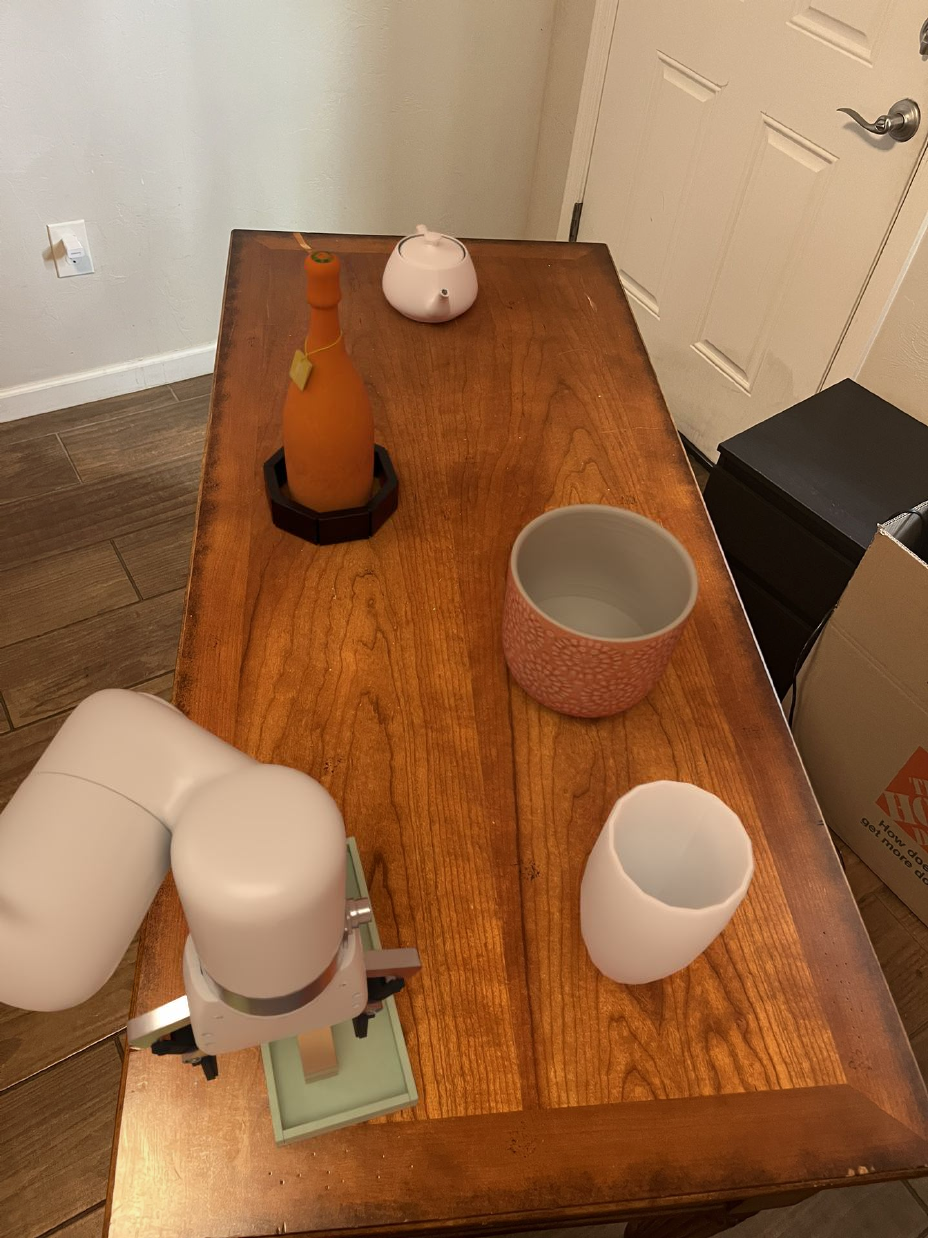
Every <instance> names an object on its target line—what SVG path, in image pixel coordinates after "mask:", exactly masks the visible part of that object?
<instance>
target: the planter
mask: <svg viewBox="0 0 928 1238" xmlns="http://www.w3.org/2000/svg"><path fill="white" fill-rule="evenodd" d="M696 567H697V566H696V565H695V562H694V560H693V558H692V556H691V555H690V553H689V552H688V550H687V549H686V547H685V546H684V544H682V542H681V541H680V540H679V538H677V537H676V536H675V535H674V534H673V533H672V532H671V531H669V530H668V529H666V528H665V526H664V527H663V526H662V525H661V524H659V523H658V522H656V521H654V520H652V519H651V518H649V517H647V516H644V515H643V514H639V513H637V512H635V511H632V510H629V509H626V508H622V507H619V506H614V505H607V504H599V503H579V504H571V505H565V506H561V507H557V508H554V509H552V510H548V511H547V512H544V513H542V514H540V515H539V516H537V517H535V518H534V519H532V520H531V521H530V522H529V523H528V524H527V525H525V527H523V529H522V530H521V531H520V532H519V534H517V537H516V539H515V540H514V542H513V545H512V548H511V552H510V557H509V562H508V570H507V577H506V584H505V594H504V599H503V600H504V601H503V611H502V623H501V624H502V625H501V634H502V635H501V638H502V648H503V655H504V658H505V661H506V664H507V666H508V669H509V671H510V673H511V675H512V677H513V678H514V679H515V681H516V683H517V684H518V685H519V686H520V687H521V689H522V690H524V692H525V693H526V694H527V695H529V697H531V698H532V699H533V700H535V701H536V702H537V703H539V704H540V705H542V706H544V707H545V708H548V709H549V710H552V711H555V712H557V713H560V714H563V715H567V716H571V717H576V718H587V719H588V718H589V719H590V718H591V719H592V718H593V719H594V718H603V717H608V716H612V715H616V714H619V713H621V712H624V711H626V710H629V709H630V708H632V707H633V706H636V705H637V704H639V702H641V701H642V700H643V699H644V698H645V697H647V695H648V694H649V693H650V692H651V691H652V690H653V689H654V687H655V686H656V685H657V683H658V682H659V681H660V679H661V678H662V676H663V675H664V673H665V671H666V669H667V667H668V665H669V663H670V662H671V659H672V657H673V655H674V653H675V651H676V649H677V647H678V645H679V642H680V640H681V638H682V636H683V634H684V631H685V629H686V627H687V625H688V622H689V620H690V618H691V616H692V613H693V611H694V608H695V605H696V603H697V600H698V595H699V589H700V588H699V587H700V581H699V575H698V574H699V573H698V571H697V568H696Z"/></svg>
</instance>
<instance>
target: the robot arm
mask: <svg viewBox="0 0 928 1238" xmlns="http://www.w3.org/2000/svg"><path fill="white" fill-rule="evenodd" d="M346 838H347V833H346V826H345V822H344V818H343V815H342V812H341V811H340V809H339V807H338V805H337V802H336V801H335V799H334V798H333V797H332V795H331V794H330V793H329V791H328V790H327V789H326V788H325V787H324V786H323V785H322V784H321V783H320V782H319V781H317V780H316V779H314V778H313V777H312V776H309V774H307V773H305V772H303V771H300V770H298V769H296V768H294V767H291V766H290V767H289V766H286V765H283V764H276V763H262V762H260V761H259V760H257V759H256V758H253V756H250V755H249V754H247V753H245V752H243V751H242V750H240V749H238V748H237V747H235V746H233V745H231V744H230V743H228V742H226V741H225V740H223V739H222V738H220V737H218V736H217V735H215V734H214V733H213V732H211V731H209V730H208V729H206V728H205V727H202V726H201V725H199V724H198V723H196V722H195V721H194V720H191V719H190V718H188V717H187V716H186V715H185V714H184V713H183V712H182V711H181V710H180V709H179V708H177V707H176V706H175V705H173V704H172V703H170V702H169V701H167V700H165V699H163V698H161V697H160V696H157V695H154V694H152V693H148V692H143V691H133V690H130V689H125V688H106V689H101V690H98V691H96V692H94V693H92V694H90V695H88V696H87V697H86V698H84V699H83V700H82V701H81V702H80V703H79V704H77V706H76V707H75V708H74V709H73V711H72V712H71V713H70V715H69V716H68V717H67V718H66V720H65V721H64V722H63V724H62V726H61V727H60V728H59V730H58V731H57V733H56V735H54V737H53V739H52V740H51V742H50V743H49V744H48V746H47V748H46V749H45V750H44V752H43V753H42V755H41V756H40V758H39V759H38V761H37V762H36V764H35V765H34V766H33V768H32V770H31V771H30V772H29V773H28V775H27V777H25V779H23V781H22V782H21V783H20V785H19V787H18V788H17V789H16V791H15V793H14V794H13V796H12V797H11V799H10V800H9V802H8V803H7V804H6V806H5V808H3V810H2V811H1V813H0V1003H3V1004H5V1005H8V1006H10V1007H11V1006H12V1007H14V1008H18V1009H22V1010H26V1011H34V1012H45V1013H49V1012H50V1013H51V1012H59V1011H65V1010H68V1009H71V1008H74V1007H77V1006H79V1005H81V1004H83V1003H85V1002H86V1001H88V1000H89V999H91V997H93V996H94V995H95V994H96V993H98V992H99V991H100V989H102V987H103V986H104V985H105V984H106V983H107V982H108V981H109V979H110V978H111V977H112V976H113V974H114V973H115V971H116V969H117V968H118V966H119V964H120V963H121V961H122V960H123V958H124V956H125V954H126V952H127V950H128V949H129V947H130V945H131V943H132V941H133V940H134V938H135V936H136V934H137V933H138V930H139V929H140V926H141V925H142V923H143V921H144V919H145V917H146V916H147V913H148V911H149V909H150V907H151V905H152V903H153V902H154V900H155V897H156V896H157V894H158V892H159V890H160V888H161V886H162V884H163V882H164V880H165V878H166V876H167V874H168V873H169V871H170V869H171V873H172V876H173V880H174V883H175V887H176V890H177V894H178V896H179V897H178V898H179V900H180V904H181V908H182V910H183V914H184V917H185V920H186V924H187V927H188V930H189V933H188V935H187V937H186V941H185V944H184V948H183V954H182V955H183V957H182V976H183V984H184V990H185V995H182V996H181V997H178V998H176V999H174V1000H172V1001H169V1002H167V1003H165V1004H163V1005H160V1006H158V1007H155V1008H154V1009H151V1010H149V1011H147V1012H145V1013H142V1014H140V1015H138V1016H136V1017H134V1018H132V1019H129V1020H128V1021H127V1022H126V1034H127V1045H128V1046H130V1047H136V1048H140V1049H144V1050H146V1049H148V1048H150V1049H151V1054H152V1055H157V1056H158V1057H163V1056H166V1055H173V1056H174V1055H176V1056H177V1055H181V1061H182V1064H183V1065H191V1066H192V1067H193V1068H194V1067H199V1066H201V1068H202V1071H203V1074H204V1076H205V1079H206V1081H207V1082H210V1081H213V1080H216V1078H217V1077H219V1068H218V1067H219V1066H218V1060H217V1056H220V1055H226V1054H230V1053H234V1052H239V1051H243V1050H247V1049H251V1048H254V1047H258V1046H261V1045H262V1044H266V1043H270V1042H273V1041H277V1040H281V1039H285V1038H288V1037H292V1036H296V1035H299V1034H303V1033H306V1032H310V1031H314V1030H317V1029H321V1028H324V1027H328V1026H331V1025H335V1024H338V1023H341V1022H344V1021H347V1020H350V1019H352V1022H353V1027H354V1032H355V1036H356V1038H357V1037H359V1039H361V1038H365V1037H367V1031H368V1019H371V1018H374V1017H375V1013H378V1012H380V1011H382V1010H383V1004H382V1000H384V999H386V998H387V997H389V996H391V995H393V996H394V995H395V994H399V993H401V992H402V991H403V990H404V988H406V981H407V980H410V979H412V978H413V977H414V976H415V975H416V974H417V973H419V972H420V971H421V970H422V969H423V965H422V961H421V957H420V953H419V949H418V947H401V948H382V949H381V950H365V951H363V948H362V942H361V936H360V931H359V925H361V924H366V923H370V922H372V913H371V908H370V904H369V900H368V898H367V897H364V898H360V899H356V900H354V898H349V899H347V898H346V897H345V891H346V855H347V844H346Z"/></svg>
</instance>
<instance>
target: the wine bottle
mask: <svg viewBox="0 0 928 1238" xmlns="http://www.w3.org/2000/svg"><path fill="white" fill-rule="evenodd" d="M303 262H304V263H303V264H304V266H303V267H304V271H305V276H306V291H305V296H306V297H305V298H306V302H307V304H308V305H310V309H309V330H308V334H307V335H306V337H305V342H304V352H302V351H301V349H295V353H294V356H293V359H292V363H291V367H290V370H289V374H288V376H289V377H290V378H291V381H290V384H289V386H288V390H287V393H286V396H285V400H284V404H283V409H282V421H281V423H282V439H283V445H284V452H285V461H286V470H287V478H288V481H287V485H288V492H289V494H290V500H293V501H295V502H297V503H299V504H302V505H304V506H306V507H308V508H310V509H313V510H315V511H317V512H319V513H320V512H327V511H334V510H341V509H348V508H355V507H362V506H365V505H366V504H367V503H368V502H369V501H370V500H371V498H372V494H373V488H374V487H373V485H374V476H373V470H374V443H375V418H374V413H373V408H372V402H371V400H370V396H369V394H368V391H367V389H366V387H365V385H364V382H363V380H362V378H361V376H360V374H359V372H358V371H357V369H356V367H355V366H354V363H353V362H352V360H351V358H350V356H349V354H348V352H347V349H346V343H345V337H344V335H343V334H344V333H343V331H342V329H341V326H340V318H339V303H340V302H341V300H342V297H343V296H342V295H343V294H342V290H341V286H340V275H341V268H342V267H341V262H340V260H339V258H338V256H337V255H336V254H334V253H333V252H332V251H328V250H317V251H313V252H311V253H309V254H308V255H306V257H305V260H304V261H303Z"/></svg>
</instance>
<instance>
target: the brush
mask: <svg viewBox="0 0 928 1238" xmlns="http://www.w3.org/2000/svg"><path fill="white" fill-rule="evenodd" d="M297 1039H298V1044H299V1050H300V1055H301V1061H302V1066H303V1072H304V1078H305V1083H306V1084H310V1083H313V1082H317V1081H320V1080H324V1079H327V1078H330V1077H334V1076H337V1075H338V1062H337V1057H336V1052H335V1047H334V1042H333V1037H332V1032H331V1027H330V1026H328V1027H324V1028H321V1029H317V1030H314V1031H310V1032H306V1033H303V1034H299V1035H297Z"/></svg>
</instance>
